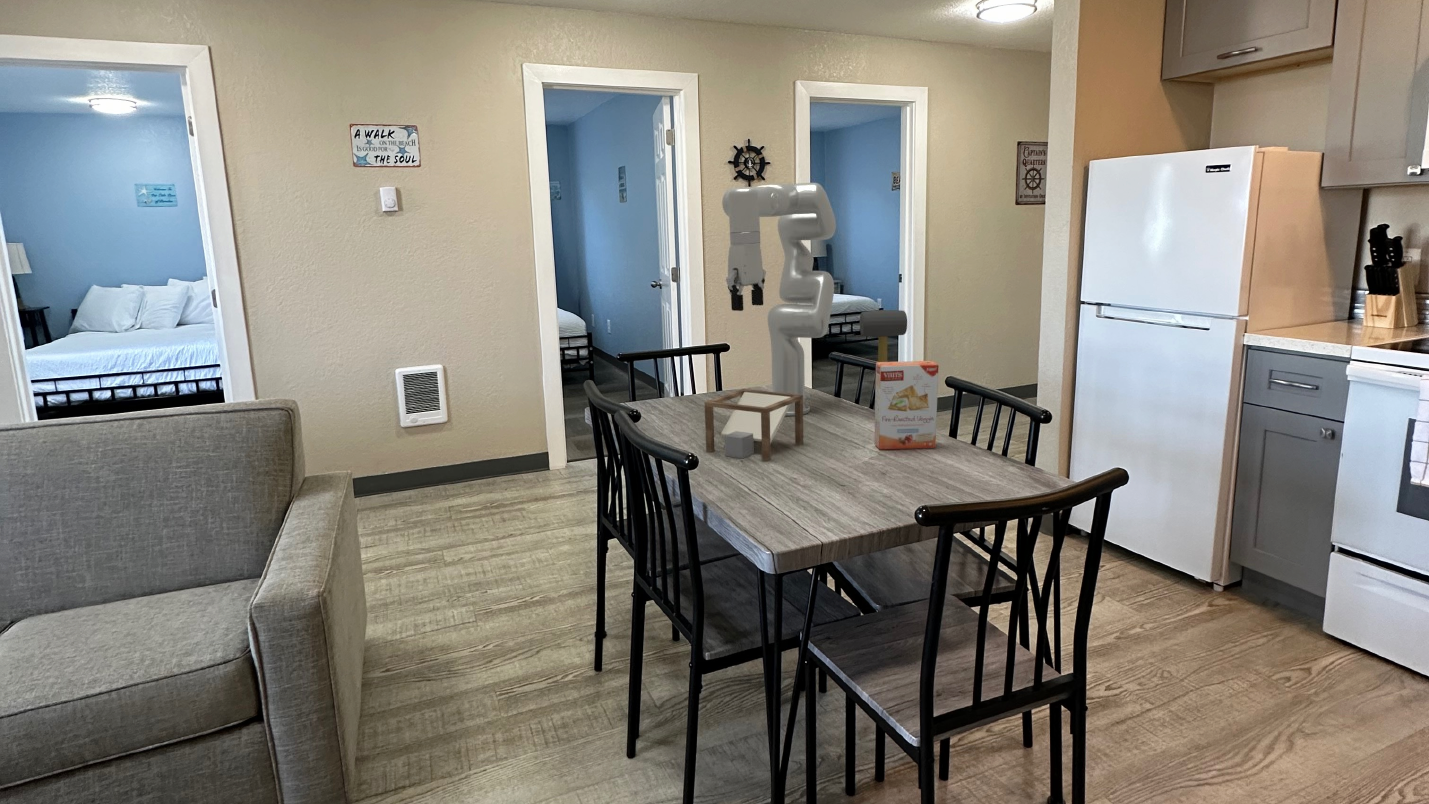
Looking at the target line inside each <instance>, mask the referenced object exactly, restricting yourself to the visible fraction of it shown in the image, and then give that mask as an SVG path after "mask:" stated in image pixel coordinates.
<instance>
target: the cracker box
mask: <svg viewBox="0 0 1429 804" xmlns="http://www.w3.org/2000/svg"><path fill="white" fill-rule="evenodd" d="M938 387H939V364H937V362H934V361H933V360H915V361H914V360H911V361H887V362H878V361H877V362H876V363H875V389H874V390H875V396H874V397H875V398H874V445H875V446H876V448H877V449H878V450H903V449H904V450H905V449H908V450H909V449H912V450H914V449H936V438H937V436H936V435H937V412H938V392H939V391H938V389H939V388H938Z"/></svg>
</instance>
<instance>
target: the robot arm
mask: <svg viewBox="0 0 1429 804" xmlns="http://www.w3.org/2000/svg"><path fill="white" fill-rule="evenodd" d="M721 205H722V209H723V212H724V213H725V215H726V216H727V217H728V218H729V219H728V220H729V224H728V225H729V242H730V243H729V244H730V245H729V249H728V256H727V257H728V258H727V276H726V279H725V282H726V284H727V289H728V291H729V295H730V300H731V301H730V302H731V306H730V307H731V310H732V311H733V312H734V311H737V312H743V311H744V294H742V293H743V289H744V287H747V286H748V287H749V286H751V288H752V289H750V290H751V292H750V293H751V305H752V306H764V290H765V285H764V284H765V283H766V280H765V279H766V275H767V272H766V270H765V269H763V258H762V257H763V256H762V249H761V226H760V224H761V223H760V222H761V221H760V220H761V218H772V217H773V218H774V217H779V218H778V220H777V231H778V236H779V240H780V242H781V246H782V250H783V253H784V263H783V266H782V273H781V277H780V283H779V289H778V290H779V291H778V294H779V298H780V300H781V301H783V302H784V303H781V304H777V305H774V306H773V307H771V308H770V310H769V311H768V314H767V327H768V332H769V337H770V346H771V347H770V348H771V387H772V388H771V392H778V393H788V394H798V395H803V415H805V414H806V415H807V414H808V413H810V412H811V406H810V405H808V404H805V403H806V401H808V400H810V398H811V395H810V394H809V393H808V392H807V393H806V392H805V389H806V386H805V385H806V384H805V381H806V379H805V350H804V348H803V346H802V344H801V343H800V342H799V340H798V338H803V339H805V338H806V339H807V338H808V339H817V338H822V337H824V336H825V335H826V333H827V331H828V327H829V323H830V318H831V312H832V306H833V300H834V293H835V281H834V279H833V276H832V275H831V274H830V272H828V271H825V270H813V267H814V256H813V254H812V252H811V251H810V250H809V249H808V247H807V246H806V245H805V244H804V243H803V241H825V240H829V239H831V238H832V237H833V236H834V235H835V232H836V230H837V229H836V228H837V226H836V225H837V224H836V223H837V222H836V217H835V213H834V210H833V208H832V205H831V202H830V200H829V196H828V194H827V193H826V190H825V188H824V187H823V186H822V184H820V183H818V182H802V183H801V182H800V183H779V184H778V183H772V184H764V185H758V186H748V187H747V186H746V187H742V186H741V187H732V188H730V187H729V188H728V189H727V190H726V191H725V193H724V194H723V196H722V203H721ZM787 416H789V417H790V416H794V417H795V402H794V403H792V404H791V405H790V407H789V409H788V411H787V412H786V414H785V416H784V417H787Z"/></svg>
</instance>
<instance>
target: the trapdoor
mask: <svg viewBox="0 0 1429 804" xmlns="http://www.w3.org/2000/svg"><path fill="white" fill-rule="evenodd" d="M787 398H790V397H787V396H778V395H768V394H759V393H749V392H744V393H743V395H742V397H740V399H739V401H738V402H737V404H740V405H748V406H757V407H766V406H769V405H772V404H774V403H777V402H779V401H782V400H785V399H787ZM790 405H791V404H789V405H787V406H784V407H782V408H779V409H777V410H774V411H772V412H770V444H772V442H773V440H774V437H775V436H776V434H777V432H778V430H779V427H780V426H781V424H782V422H783V420H784V418H785V417H786V416H785V414H786V412H787V411H788V409H789V407H790ZM735 431H739V432H746V433H753V442H755V441H756V442H761V443H762V438H761V413H758V412H750V411H742V410H733V411H732V413H731V415H730V417H729V419H728V421H727V422H726V424H725V426H724V427H723V429H722V431H721V433H720V434H721V437H725V435H728V434H730V433H732V432H735Z"/></svg>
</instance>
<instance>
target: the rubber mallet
mask: <svg viewBox="0 0 1429 804" xmlns="http://www.w3.org/2000/svg"><path fill="white" fill-rule="evenodd" d="M859 330H860V335H861V336H862V337H869V338H871V337H872V338H873V337H874V338H875V337H878V339H877V340H878V344H877V347H878V348H877V349H878V350H877V351H878V352H877V362H888V337H895V336H904V335H906V333H907V330H908V316H907V313H906V311H905V310H901V309H900V310H898V309H897V310H896V309H880V310H878V309H877V310H867V311H862V312H861V313H860V316H859Z"/></svg>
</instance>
